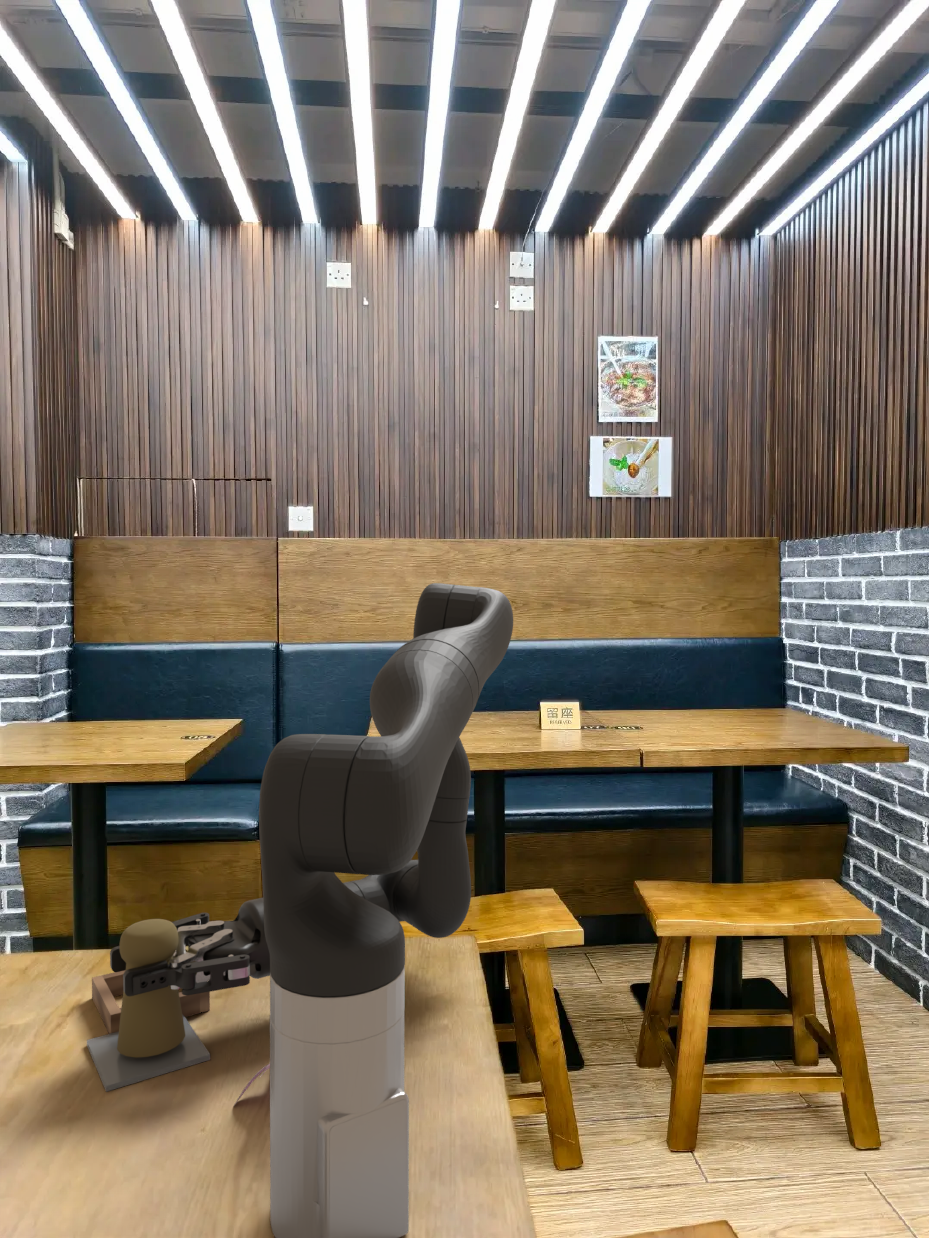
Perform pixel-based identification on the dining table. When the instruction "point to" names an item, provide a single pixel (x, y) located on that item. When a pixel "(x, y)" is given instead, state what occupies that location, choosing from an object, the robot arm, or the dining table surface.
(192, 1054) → the plate
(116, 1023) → the caddy
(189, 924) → the robot arm
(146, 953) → the cork
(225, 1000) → the dining table surface
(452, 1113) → the dining table surface
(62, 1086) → the dining table surface
